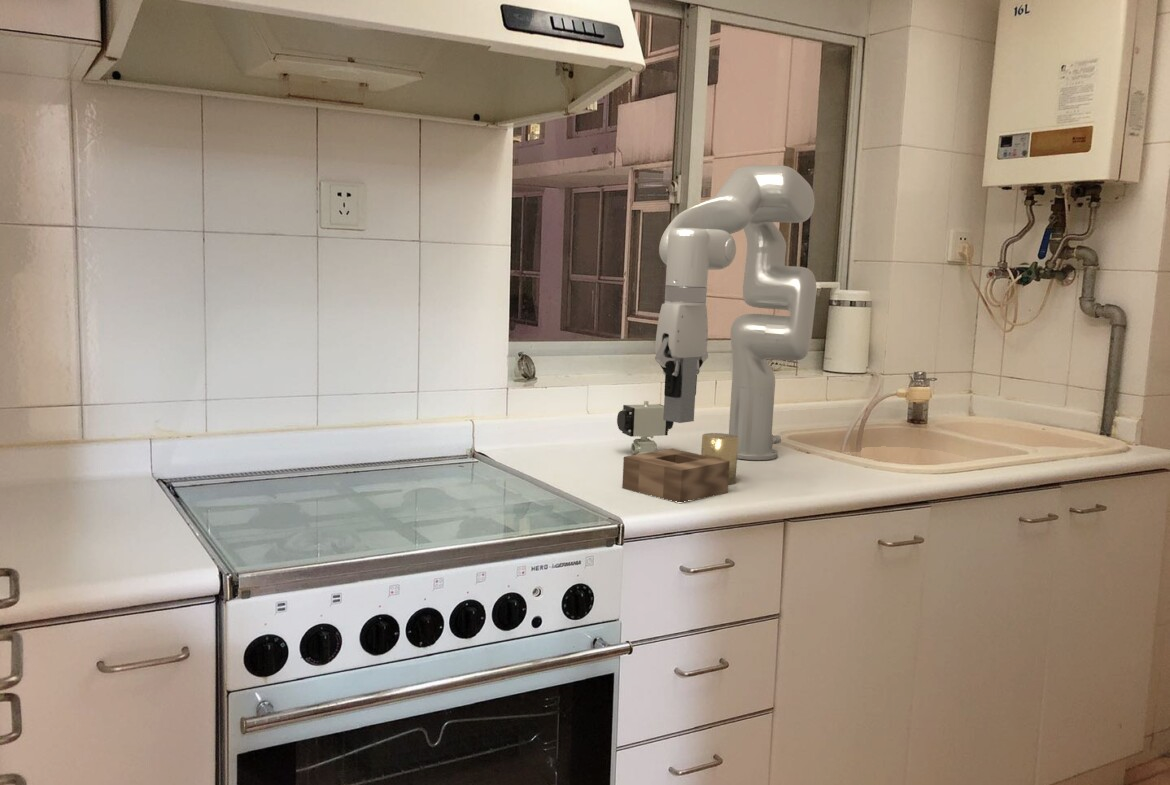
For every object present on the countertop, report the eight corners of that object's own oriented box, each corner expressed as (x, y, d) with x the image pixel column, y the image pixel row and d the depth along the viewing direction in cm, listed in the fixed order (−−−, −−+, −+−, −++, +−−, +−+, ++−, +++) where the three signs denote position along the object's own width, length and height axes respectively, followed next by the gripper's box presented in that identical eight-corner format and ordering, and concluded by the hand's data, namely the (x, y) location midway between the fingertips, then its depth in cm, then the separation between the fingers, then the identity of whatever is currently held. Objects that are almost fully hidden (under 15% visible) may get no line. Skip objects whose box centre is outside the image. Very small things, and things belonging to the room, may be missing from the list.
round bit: (714, 475, 198) (716, 431, 197) (742, 482, 193) (745, 437, 192) (692, 480, 193) (695, 435, 192) (721, 487, 188) (723, 441, 187)
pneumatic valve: (672, 456, 216) (675, 402, 214) (623, 458, 211) (626, 403, 210) (661, 451, 221) (664, 398, 219) (613, 453, 217) (615, 399, 215)
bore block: (670, 478, 194) (672, 448, 193) (727, 492, 184) (729, 461, 183) (622, 488, 184) (623, 456, 183) (679, 503, 174) (681, 470, 173)
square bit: (677, 418, 185) (680, 354, 183) (693, 421, 182) (697, 356, 180) (663, 419, 182) (666, 355, 180) (679, 423, 179) (683, 357, 178)
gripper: (698, 295, 187) (692, 390, 190) (639, 295, 176) (634, 396, 178) (729, 297, 182) (723, 395, 185) (671, 297, 170) (666, 402, 173)
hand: (680, 395), depth 181 cm, fingers closed on square bit, 4 cm apart
